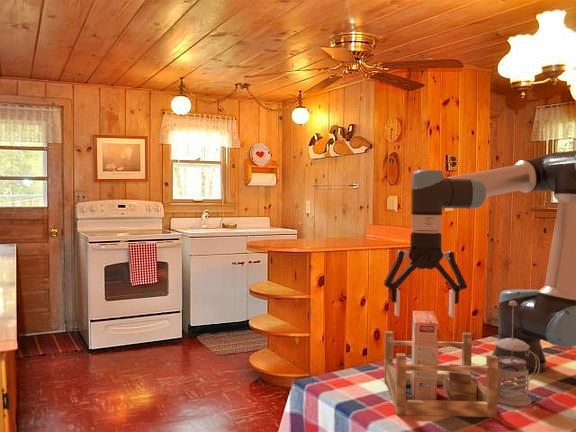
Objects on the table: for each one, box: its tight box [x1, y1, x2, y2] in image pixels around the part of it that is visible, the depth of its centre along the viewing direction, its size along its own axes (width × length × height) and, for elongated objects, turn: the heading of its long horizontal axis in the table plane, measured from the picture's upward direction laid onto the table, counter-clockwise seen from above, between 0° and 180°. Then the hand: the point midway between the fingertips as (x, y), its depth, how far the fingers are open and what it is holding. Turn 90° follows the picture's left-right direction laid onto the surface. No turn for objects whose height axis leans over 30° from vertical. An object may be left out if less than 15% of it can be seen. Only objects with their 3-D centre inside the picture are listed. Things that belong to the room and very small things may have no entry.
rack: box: [383, 330, 498, 418], centre depth 132 cm, size 23×22×14 cm
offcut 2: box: [443, 373, 477, 395], centre depth 133 cm, size 6×8×2 cm
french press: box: [494, 301, 540, 407], centre depth 132 cm, size 10×12×25 cm
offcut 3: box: [442, 383, 476, 401], centre depth 133 cm, size 6×9×2 cm, turn 177°
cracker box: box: [410, 310, 440, 400], centre depth 132 cm, size 14×6×21 cm, turn 168°
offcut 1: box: [448, 363, 472, 385], centre depth 133 cm, size 5×7×2 cm
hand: (424, 315), depth 131 cm, fingers open, 13 cm apart
